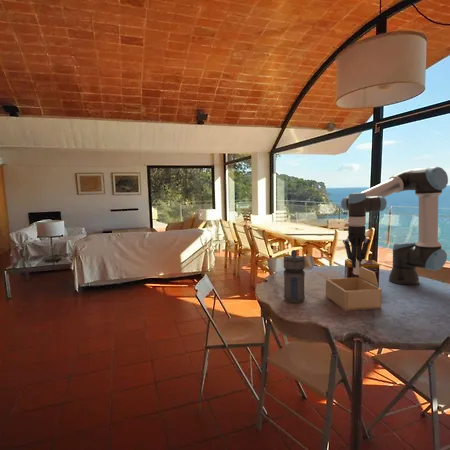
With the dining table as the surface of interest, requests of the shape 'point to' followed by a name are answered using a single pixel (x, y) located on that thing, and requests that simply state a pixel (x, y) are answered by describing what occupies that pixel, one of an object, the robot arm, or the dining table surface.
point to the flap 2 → (368, 275)
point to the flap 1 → (329, 280)
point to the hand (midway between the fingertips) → (356, 273)
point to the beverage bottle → (294, 278)
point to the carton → (353, 294)
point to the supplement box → (366, 264)
